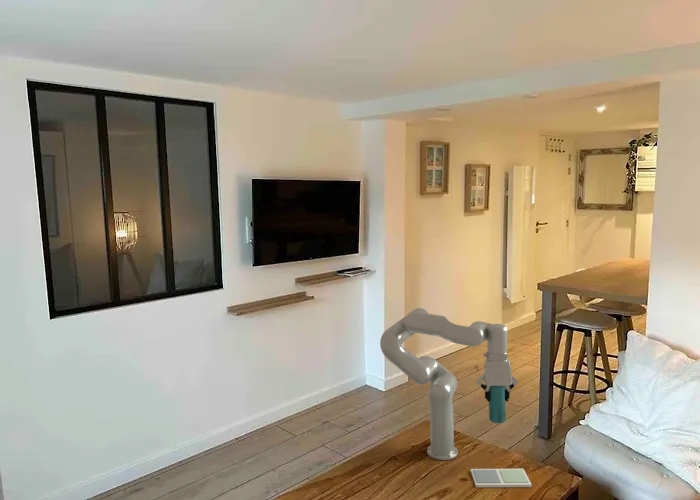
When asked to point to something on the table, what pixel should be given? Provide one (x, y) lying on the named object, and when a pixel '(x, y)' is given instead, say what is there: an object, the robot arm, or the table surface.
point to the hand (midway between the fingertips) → (497, 399)
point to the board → (500, 478)
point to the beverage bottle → (497, 404)
